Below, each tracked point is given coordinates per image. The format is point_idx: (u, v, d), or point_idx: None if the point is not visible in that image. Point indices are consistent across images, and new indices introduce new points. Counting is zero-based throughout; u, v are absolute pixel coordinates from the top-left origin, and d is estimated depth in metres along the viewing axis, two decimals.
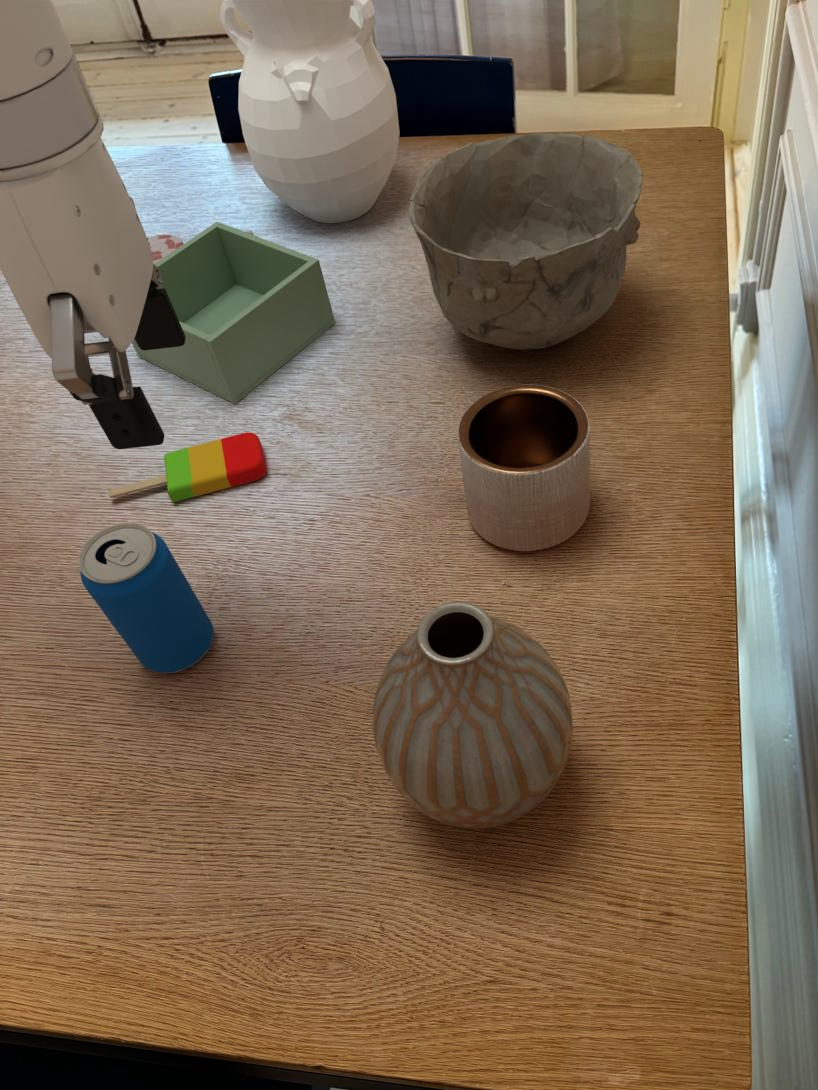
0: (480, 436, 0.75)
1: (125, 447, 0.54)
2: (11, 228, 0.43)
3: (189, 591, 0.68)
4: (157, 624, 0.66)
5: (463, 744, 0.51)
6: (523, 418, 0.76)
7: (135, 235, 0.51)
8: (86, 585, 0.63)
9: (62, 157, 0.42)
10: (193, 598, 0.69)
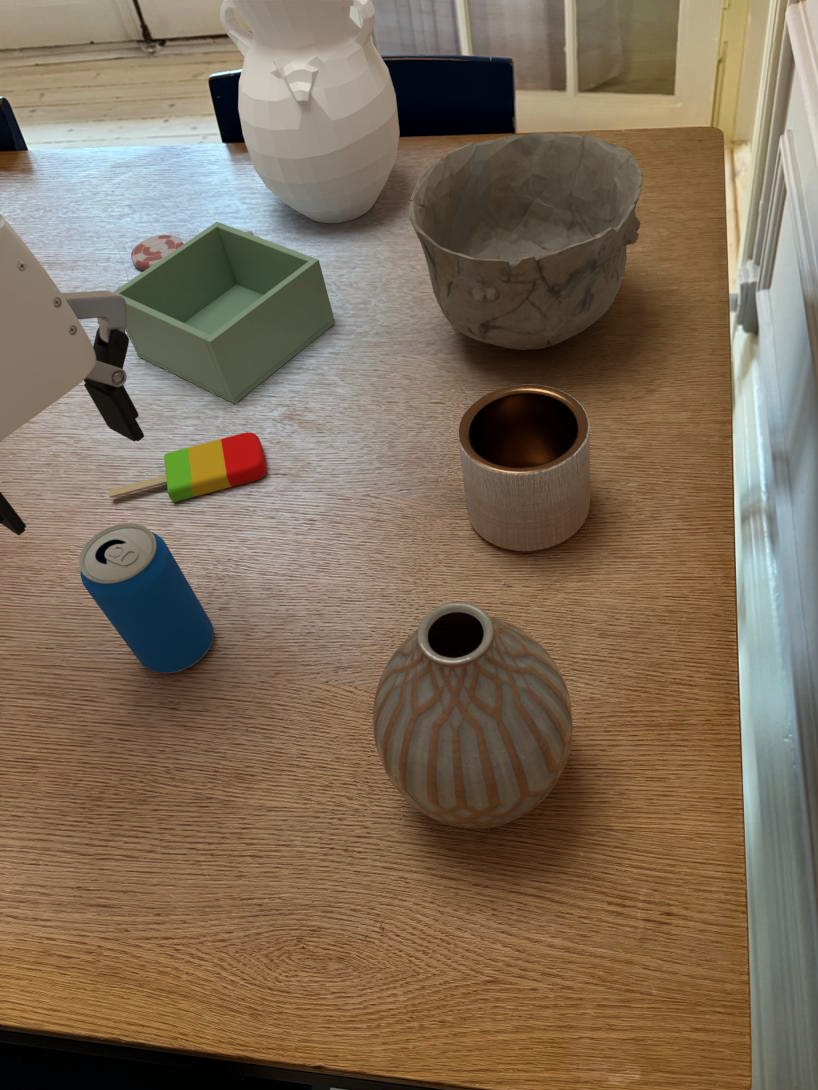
0: (480, 436, 0.75)
1: None
2: None
3: (189, 591, 0.68)
4: (157, 624, 0.66)
5: (463, 744, 0.51)
6: (523, 418, 0.76)
7: (49, 349, 0.50)
8: (86, 585, 0.63)
9: None
10: (193, 598, 0.69)
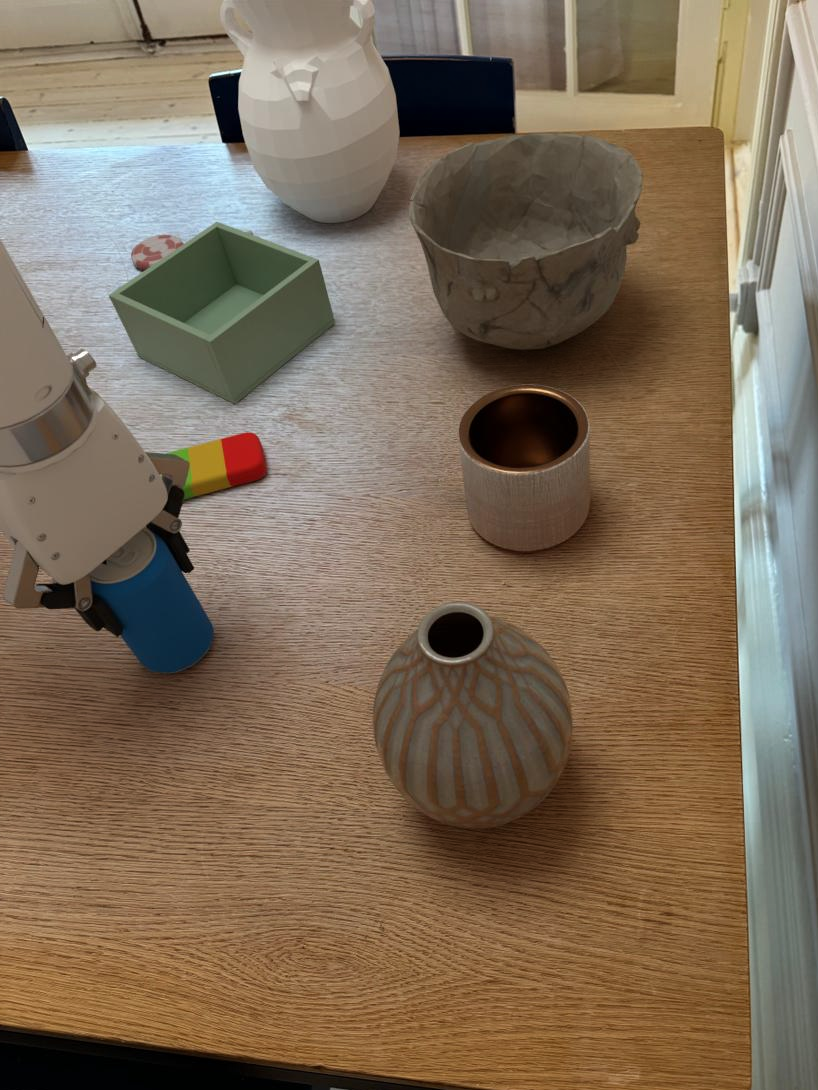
0: (480, 436, 0.75)
1: None
2: None
3: (189, 591, 0.68)
4: (157, 624, 0.66)
5: (463, 744, 0.51)
6: (523, 418, 0.76)
7: (132, 496, 0.60)
8: None
9: (21, 468, 0.52)
10: (193, 598, 0.69)
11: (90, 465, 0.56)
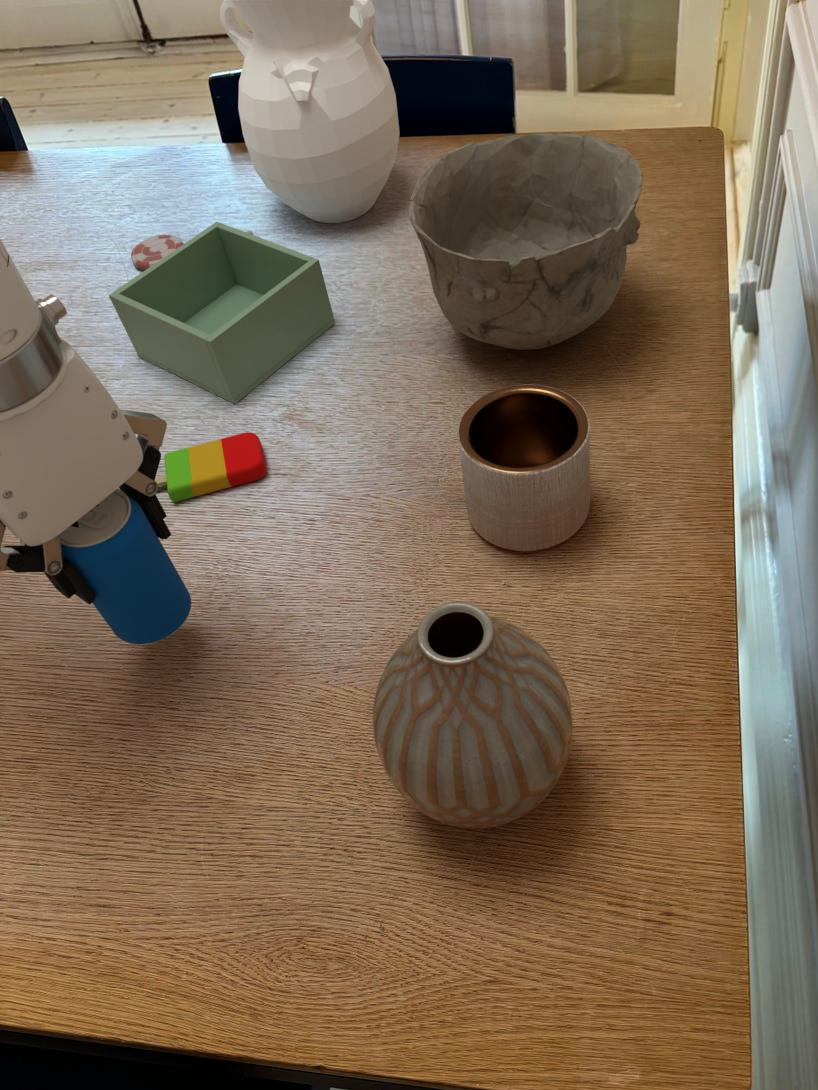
0: (480, 436, 0.75)
1: None
2: None
3: (166, 558, 0.65)
4: (132, 592, 0.63)
5: (463, 744, 0.51)
6: (523, 417, 0.76)
7: (105, 454, 0.57)
8: None
9: None
10: (170, 566, 0.66)
11: (59, 419, 0.53)
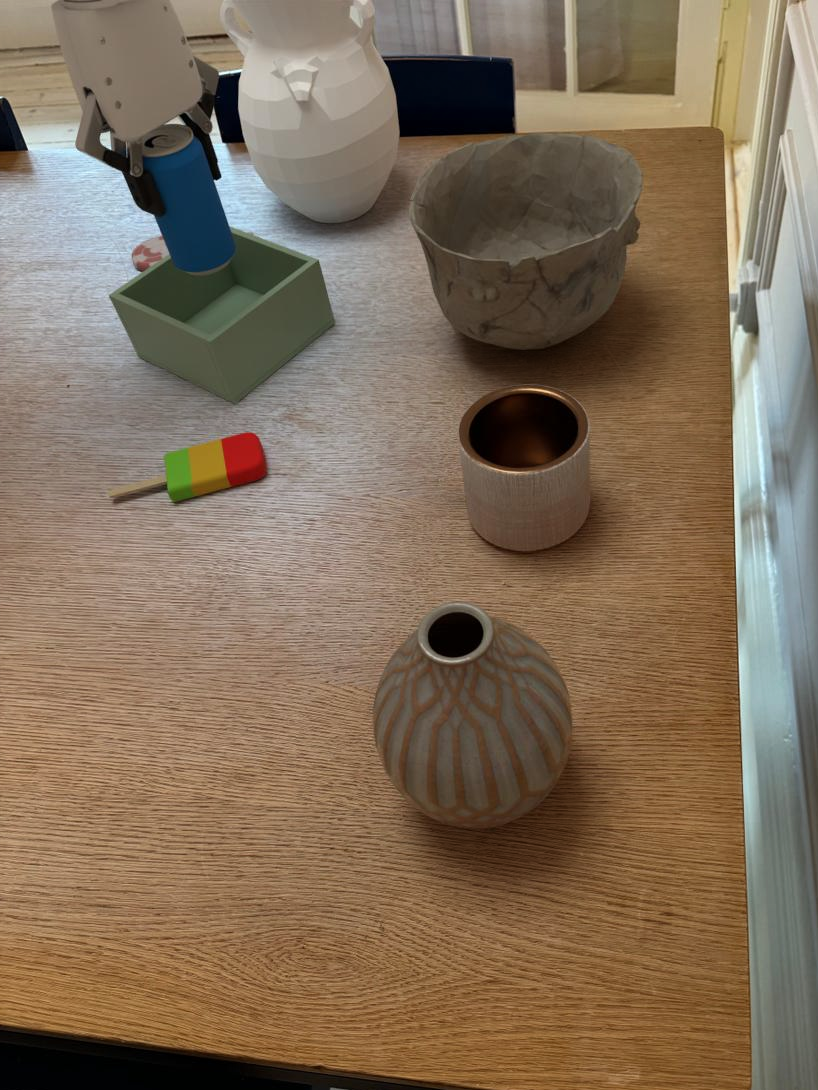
0: (480, 436, 0.75)
1: (144, 210, 0.83)
2: (64, 37, 0.70)
3: (218, 194, 0.84)
4: (193, 210, 0.82)
5: (463, 744, 0.51)
6: (523, 417, 0.76)
7: (176, 73, 0.76)
8: None
9: (96, 4, 0.68)
10: (220, 203, 0.85)
11: (146, 25, 0.72)
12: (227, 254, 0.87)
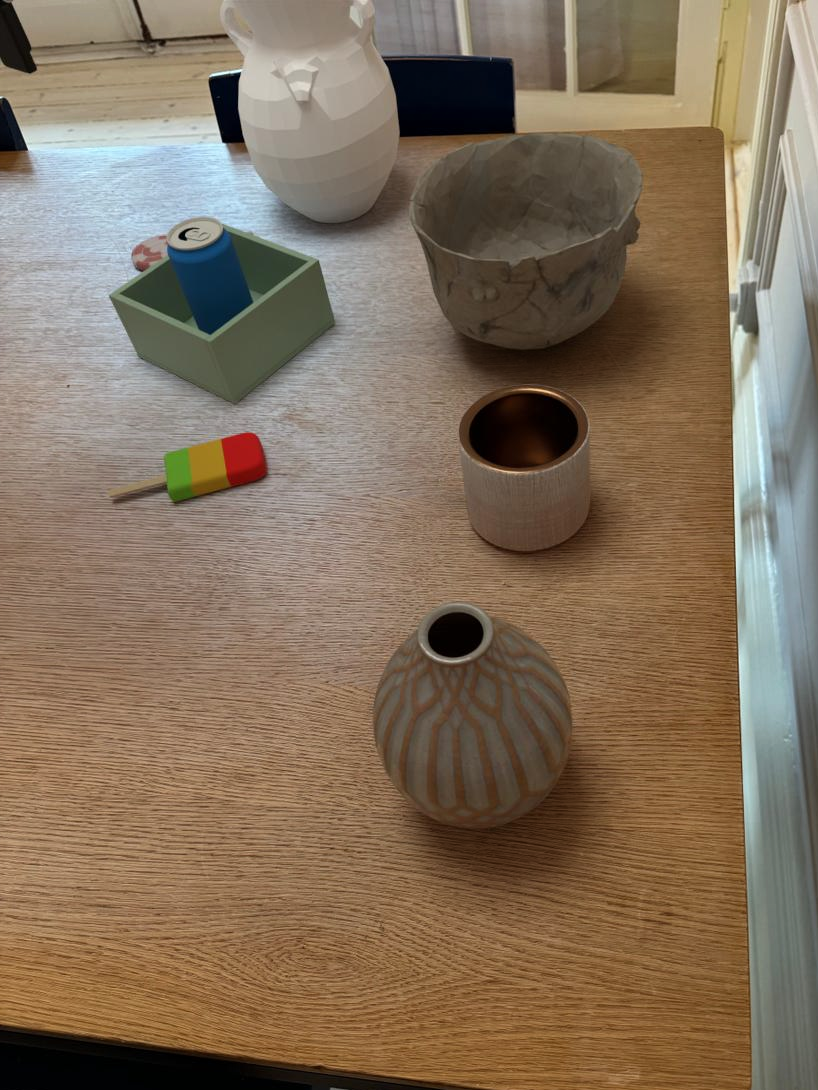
0: (480, 436, 0.75)
1: None
2: None
3: (244, 278, 0.92)
4: (222, 294, 0.89)
5: (463, 744, 0.51)
6: (524, 417, 0.76)
7: None
8: (172, 256, 0.87)
9: None
10: (247, 285, 0.92)
11: None
12: None
